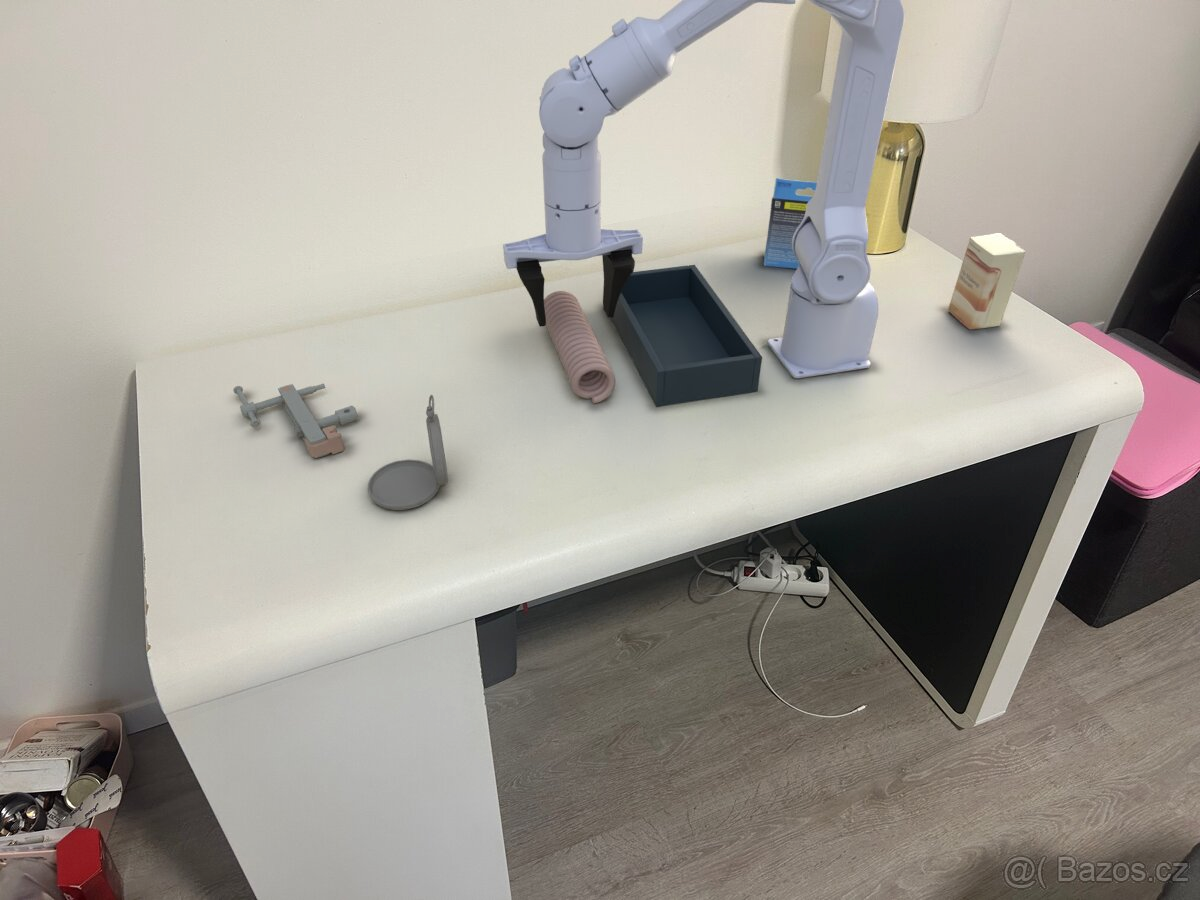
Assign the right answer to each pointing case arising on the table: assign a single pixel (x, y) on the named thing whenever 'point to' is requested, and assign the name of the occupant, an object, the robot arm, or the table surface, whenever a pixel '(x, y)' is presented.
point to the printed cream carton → (986, 280)
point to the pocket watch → (412, 474)
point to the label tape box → (785, 221)
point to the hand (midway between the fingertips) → (575, 317)
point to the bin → (684, 337)
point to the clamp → (304, 418)
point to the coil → (578, 347)
